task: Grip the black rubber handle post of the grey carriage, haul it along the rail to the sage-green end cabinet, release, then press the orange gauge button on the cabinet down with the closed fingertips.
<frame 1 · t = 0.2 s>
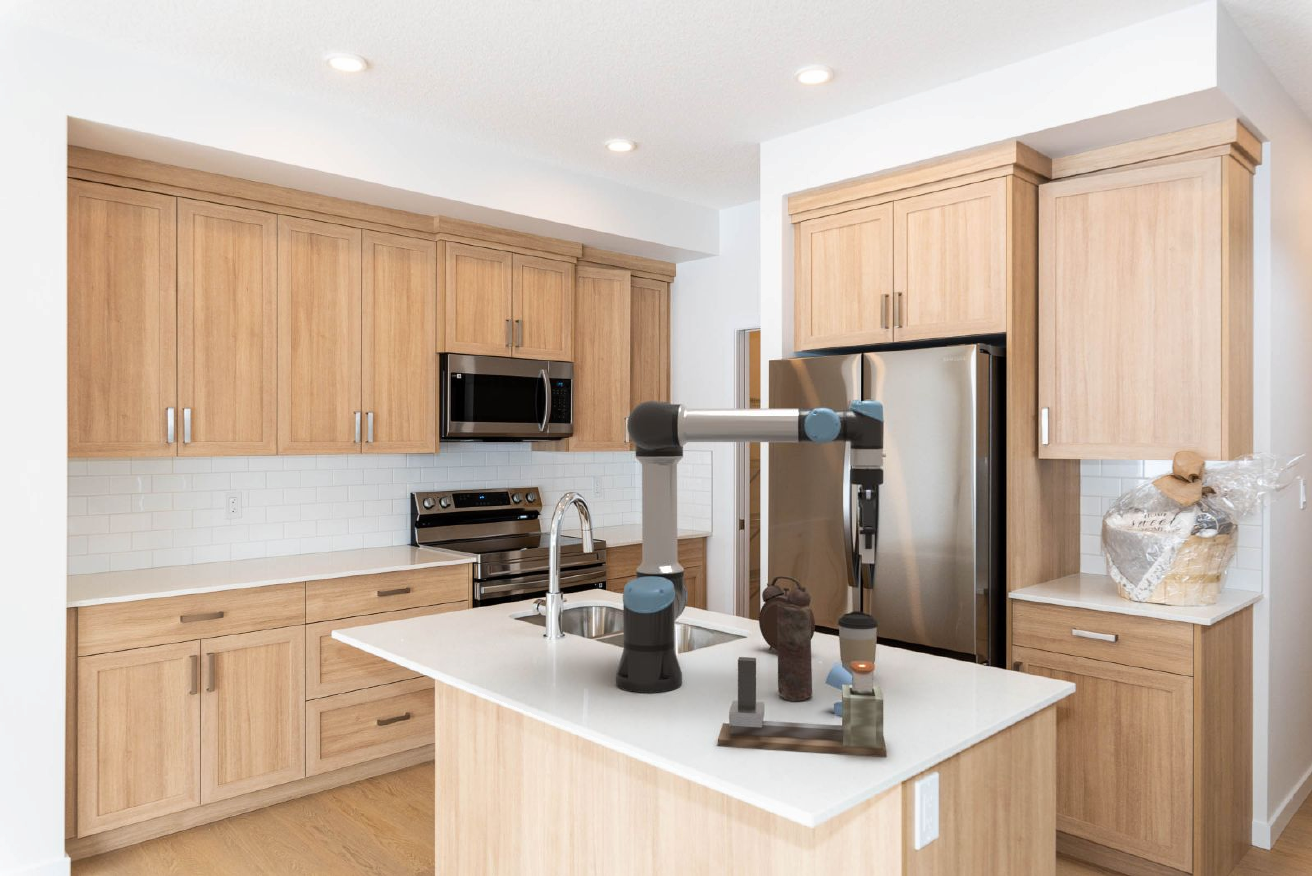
hand: (866, 559, 204), 28 cm above the countertop, fingers open, 13 cm apart
alarm clock: (787, 654, 227), on the countertop
coffee cup: (857, 679, 204), on the countertop
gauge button: (862, 685, 160), point 11 cm above the countertop, slide at 0.0 cm
rail: (801, 742, 162), on the countertop
spotlight: (842, 713, 179), on the countertop
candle: (794, 697, 190), on the countertop
carriage: (747, 689, 164), point 9 cm above the countertop, slide at 0.0 cm
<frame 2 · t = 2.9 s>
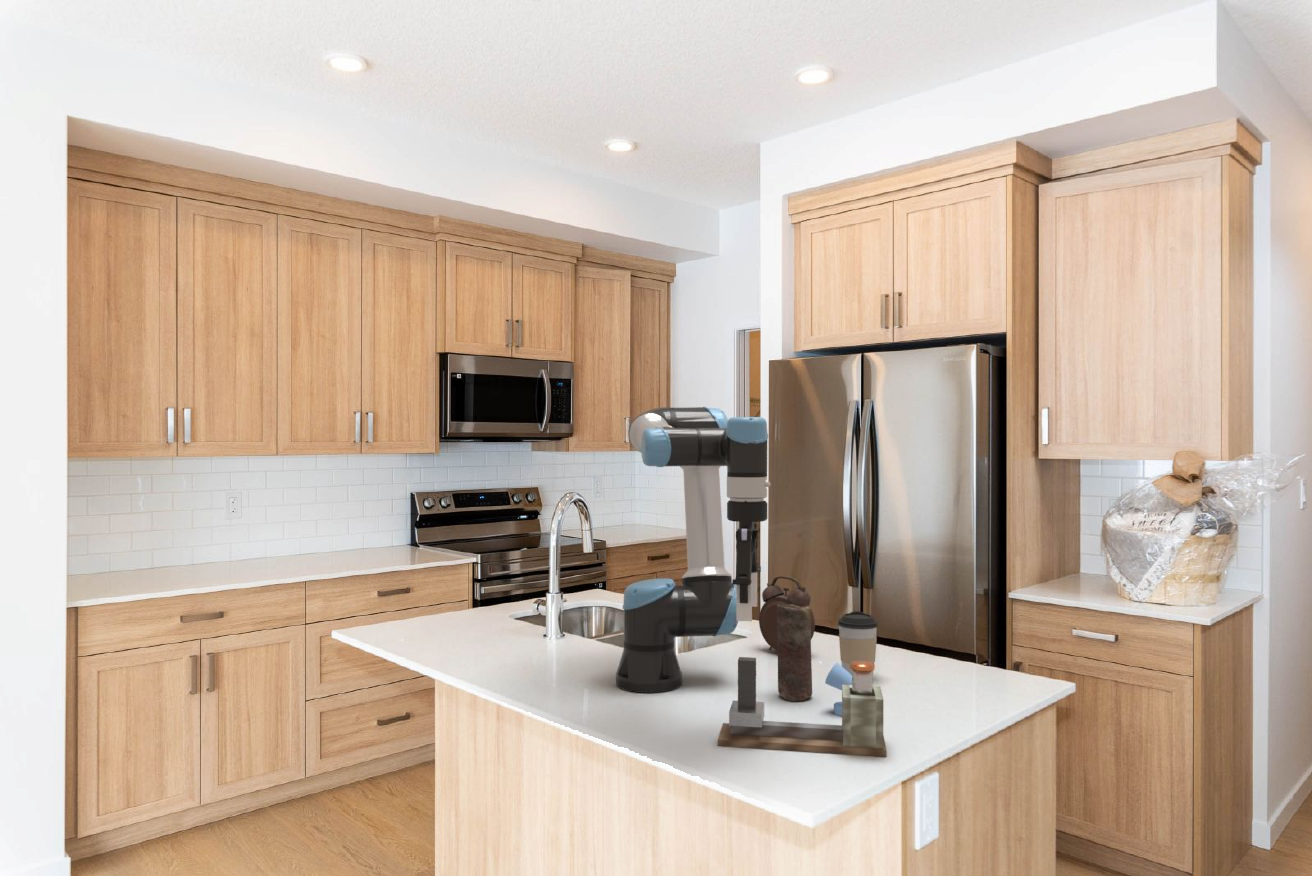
hand: (747, 613, 164), 24 cm above the countertop, fingers open, 13 cm apart
nothing on the countertop moved.
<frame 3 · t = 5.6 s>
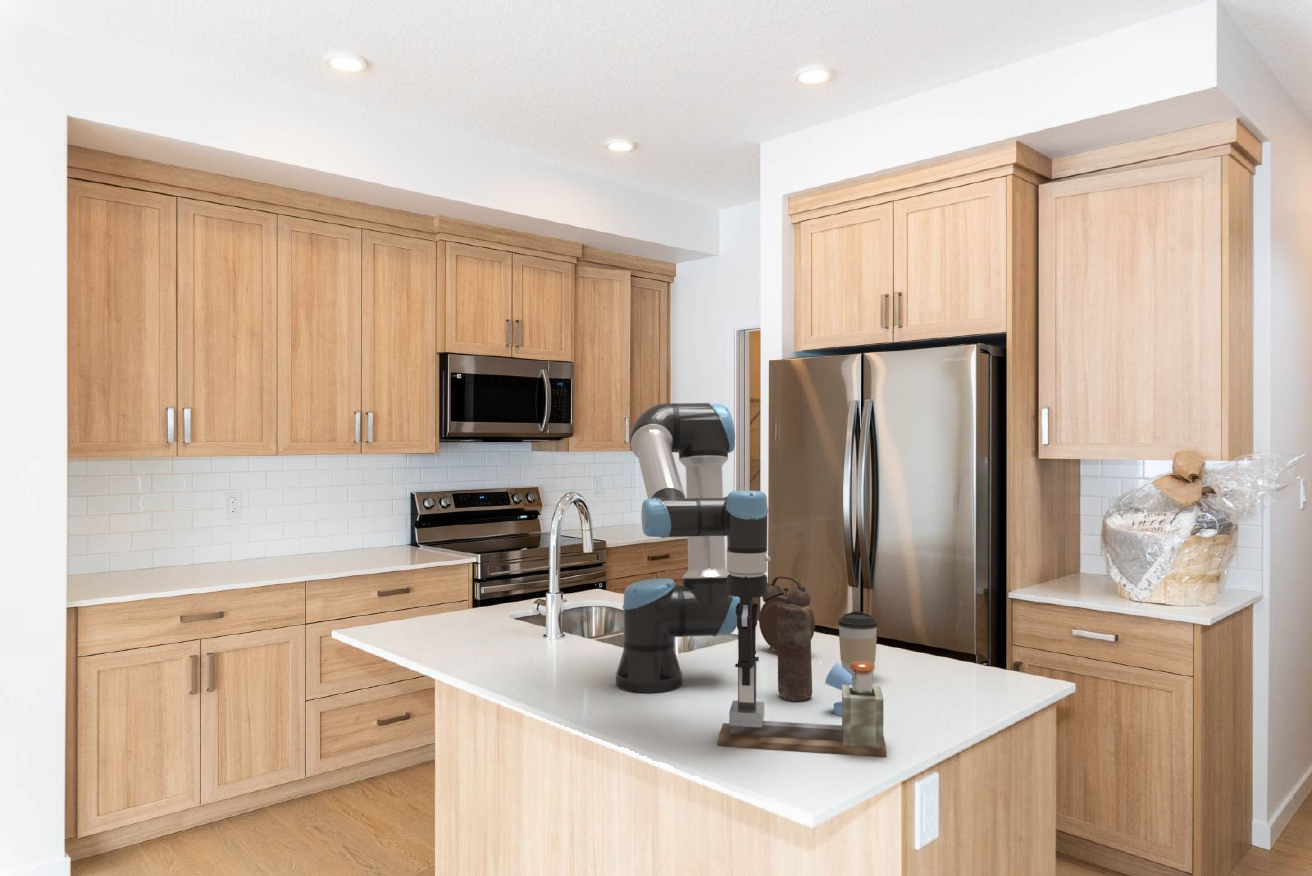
hand: (747, 699, 164), 8 cm above the countertop, fingers closed on carriage, 2 cm apart
carriage: (747, 689, 164), point 9 cm above the countertop, slide at 0.0 cm, touching gripper
everything else where it was.
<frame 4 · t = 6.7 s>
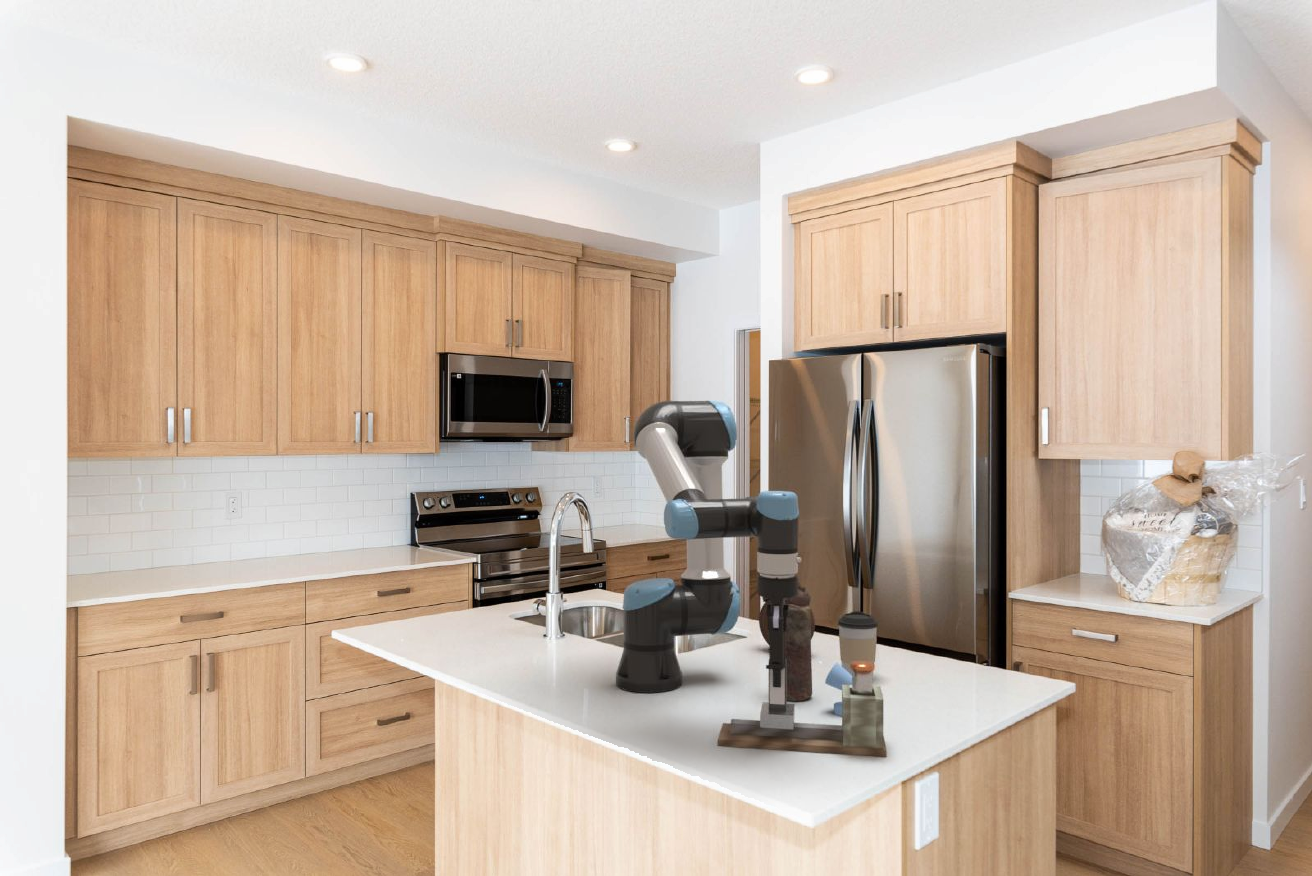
hand: (777, 700, 163), 8 cm above the countertop, fingers closed on carriage, 2 cm apart
carriage: (777, 691, 163), point 9 cm above the countertop, slide at 5.7 cm, touching gripper
everything else where it was.
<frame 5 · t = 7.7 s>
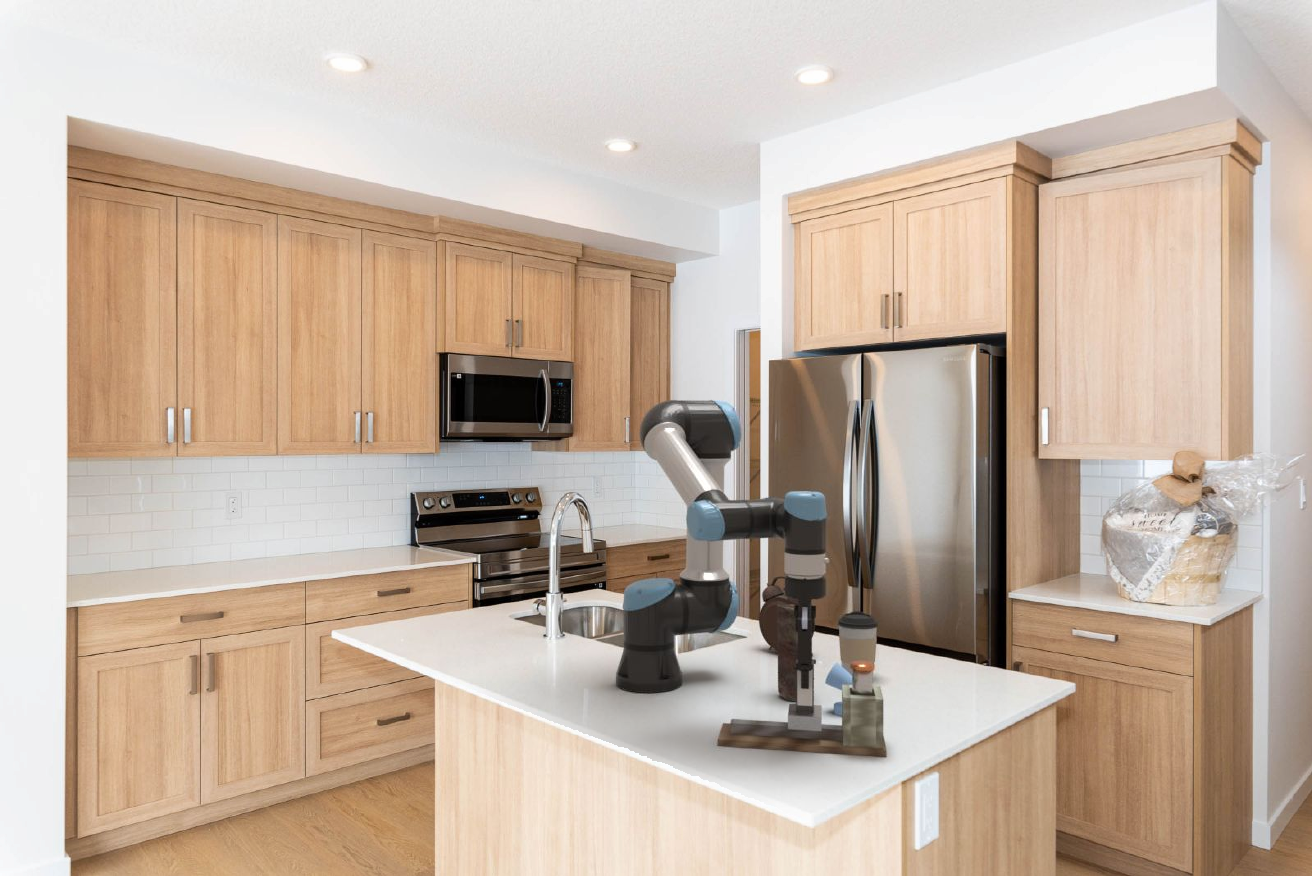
hand: (805, 702, 162), 8 cm above the countertop, fingers closed on carriage, 2 cm apart
carriage: (805, 692, 162), point 9 cm above the countertop, slide at 10.7 cm, touching gripper
everything else where it was.
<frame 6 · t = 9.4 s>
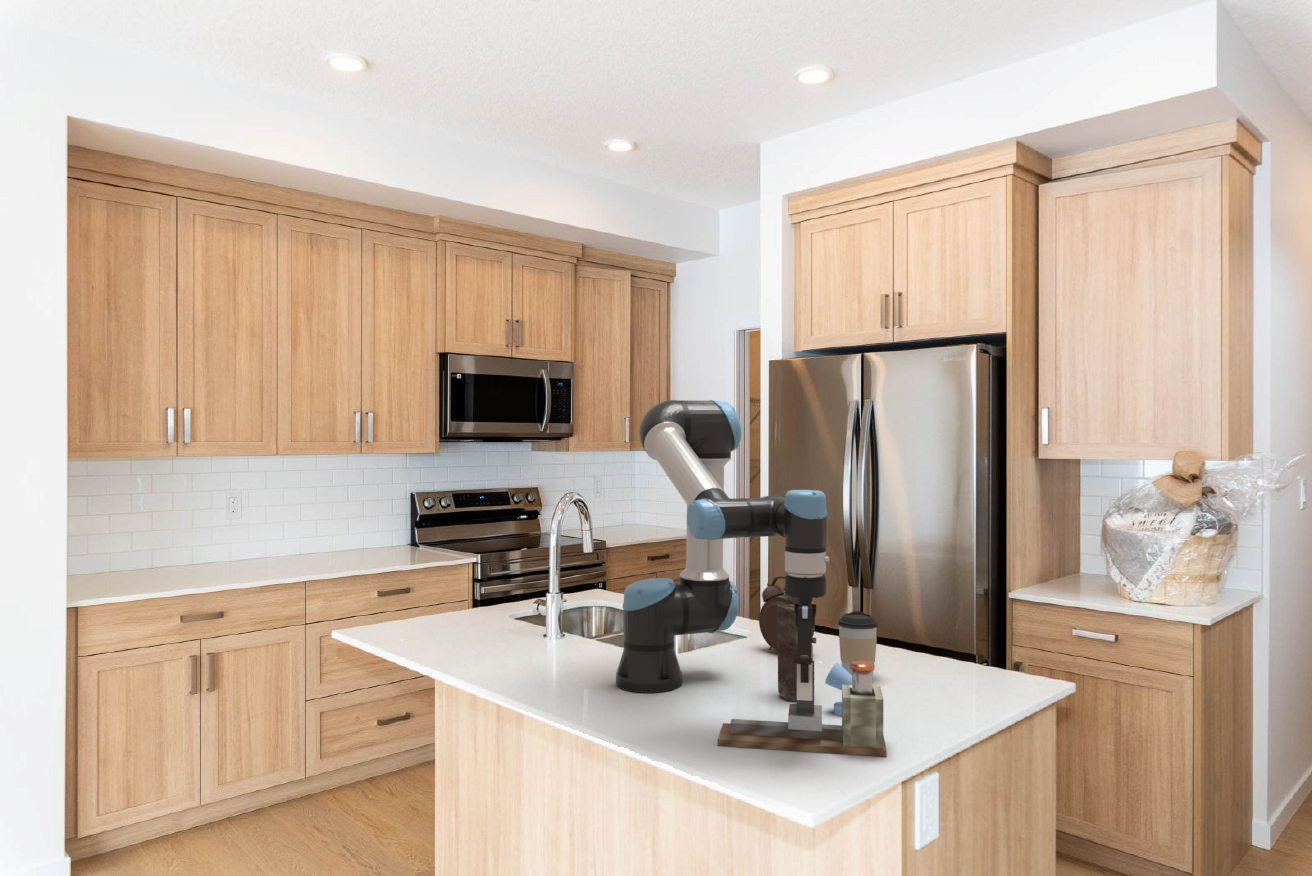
hand: (805, 688, 162), 10 cm above the countertop, fingers open, 13 cm apart
carriage: (805, 692, 162), point 9 cm above the countertop, slide at 10.8 cm
everything else where it was.
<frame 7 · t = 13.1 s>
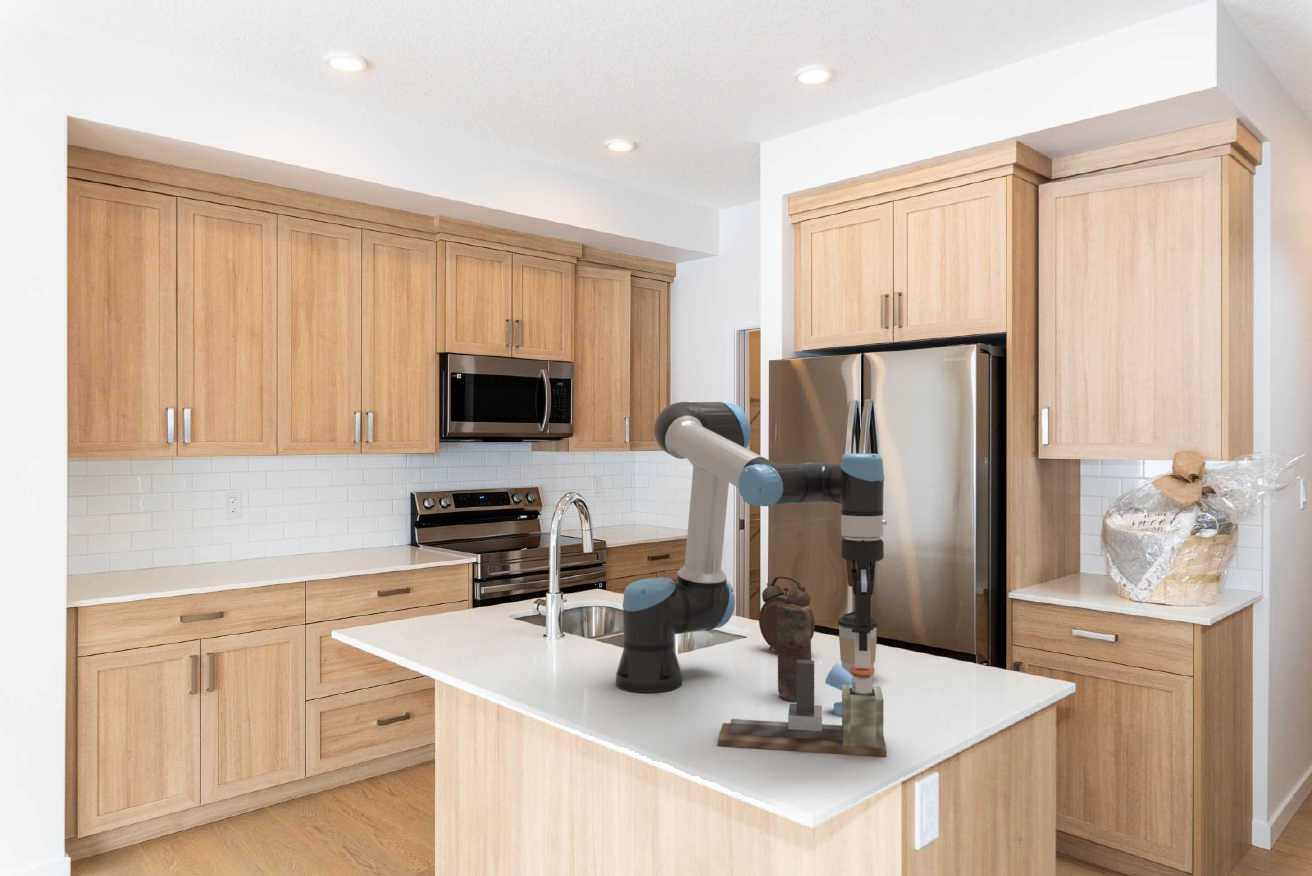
hand: (862, 667, 160), 15 cm above the countertop, fingers closed
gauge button: (862, 689, 160), point 10 cm above the countertop, slide at 0.8 cm, touching gripper
everything else where it was.
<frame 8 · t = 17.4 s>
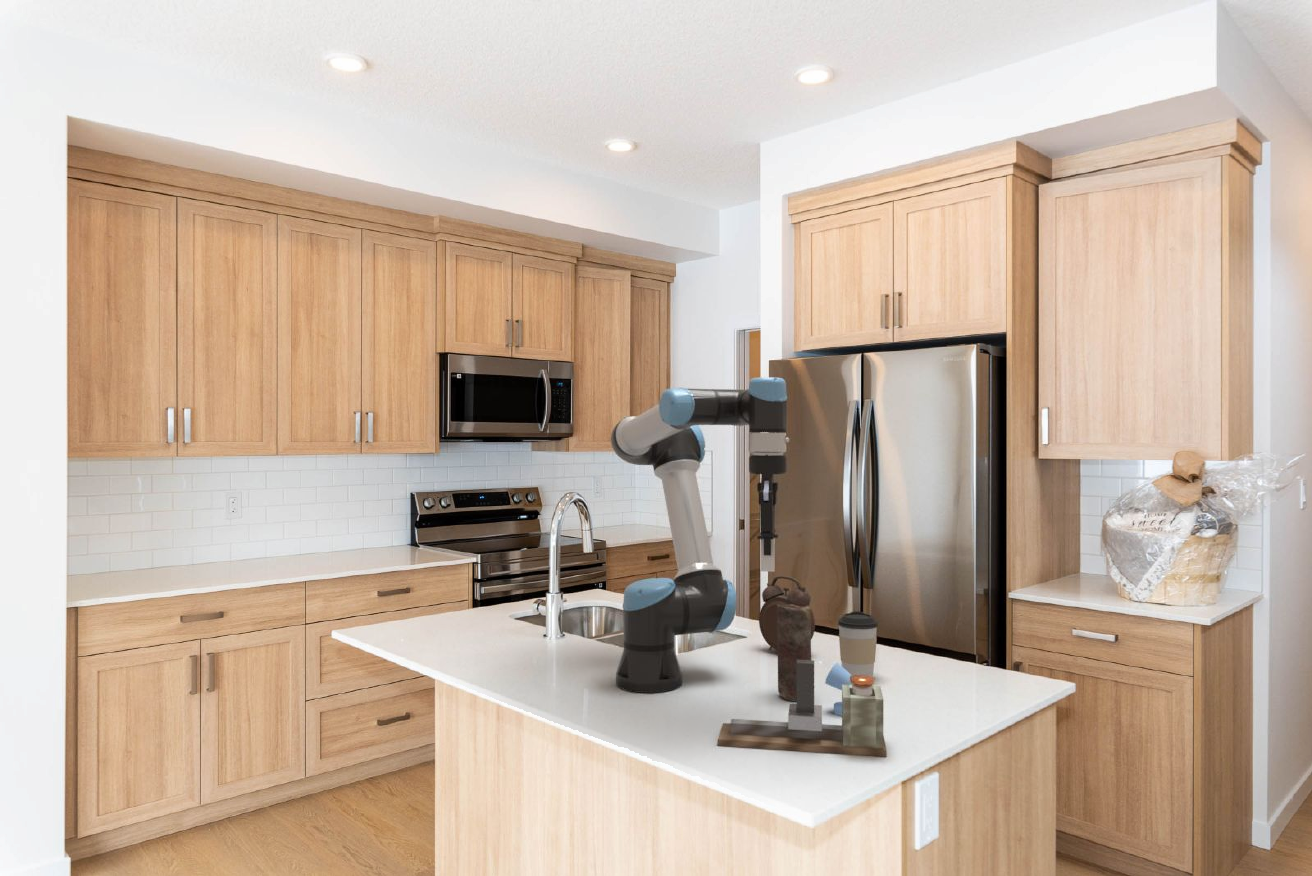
hand: (767, 570, 177), 29 cm above the countertop, fingers closed
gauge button: (862, 699, 160), point 9 cm above the countertop, slide at 2.6 cm
everything else where it was.
at the end: carriage slide at 10.8 cm; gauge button slide at 2.6 cm; the gripper is holding nothing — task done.
